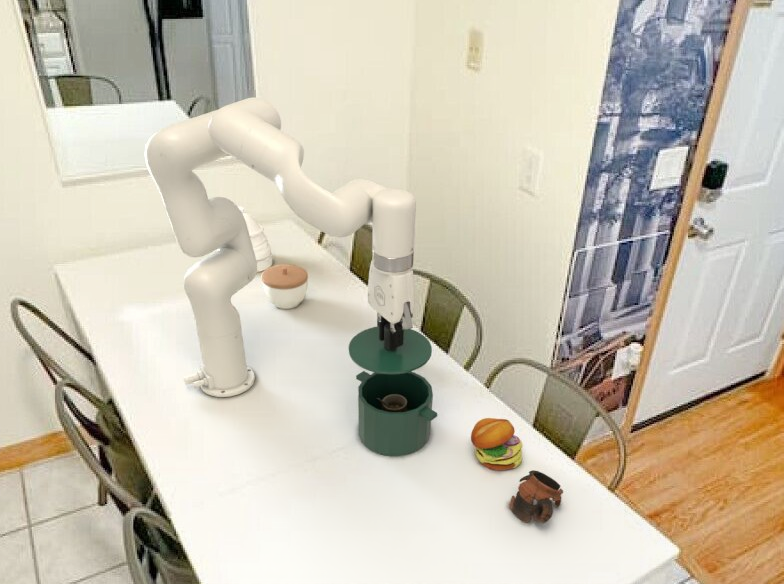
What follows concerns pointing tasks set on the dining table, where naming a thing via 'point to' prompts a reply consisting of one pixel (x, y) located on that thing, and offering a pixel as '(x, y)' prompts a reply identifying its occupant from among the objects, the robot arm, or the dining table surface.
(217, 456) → the dining table surface
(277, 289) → the lidded bowl
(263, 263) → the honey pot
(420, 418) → the pot
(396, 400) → the mate gourd
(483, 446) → the cheeseburger
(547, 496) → the brown hollow piece
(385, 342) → the lid
